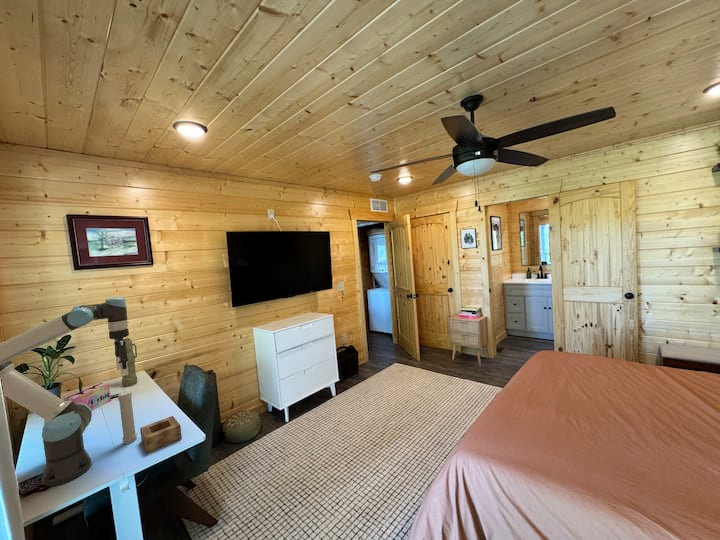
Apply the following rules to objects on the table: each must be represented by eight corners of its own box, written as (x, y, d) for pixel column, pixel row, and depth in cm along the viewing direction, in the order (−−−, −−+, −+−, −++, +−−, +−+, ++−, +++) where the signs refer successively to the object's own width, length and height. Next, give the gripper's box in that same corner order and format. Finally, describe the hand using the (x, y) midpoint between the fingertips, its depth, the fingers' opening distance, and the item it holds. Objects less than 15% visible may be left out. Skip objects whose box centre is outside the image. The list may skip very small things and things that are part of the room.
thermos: (119, 387, 221) (113, 340, 220) (139, 381, 229) (133, 336, 228) (120, 390, 215) (115, 342, 213) (141, 384, 223) (135, 338, 221)
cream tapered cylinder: (129, 444, 146) (122, 384, 145) (118, 444, 147) (111, 383, 146) (139, 437, 151) (133, 379, 150) (129, 437, 153) (122, 379, 151)
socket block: (147, 453, 138) (145, 438, 138) (141, 441, 148) (140, 427, 148) (181, 438, 148) (180, 425, 147) (174, 428, 158) (172, 415, 157)
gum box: (104, 401, 200) (102, 382, 199) (113, 401, 198) (111, 382, 198) (66, 419, 178) (63, 398, 177) (76, 419, 176) (73, 398, 176)
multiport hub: (107, 399, 202) (107, 396, 202) (128, 394, 209) (127, 390, 209) (107, 402, 198) (107, 398, 198) (128, 395, 206) (128, 392, 205)
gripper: (132, 330, 141) (136, 375, 142) (124, 325, 159) (127, 364, 160) (112, 334, 136) (116, 380, 137) (105, 328, 154) (109, 369, 154)
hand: (122, 372), depth 148 cm, fingers open, 13 cm apart
